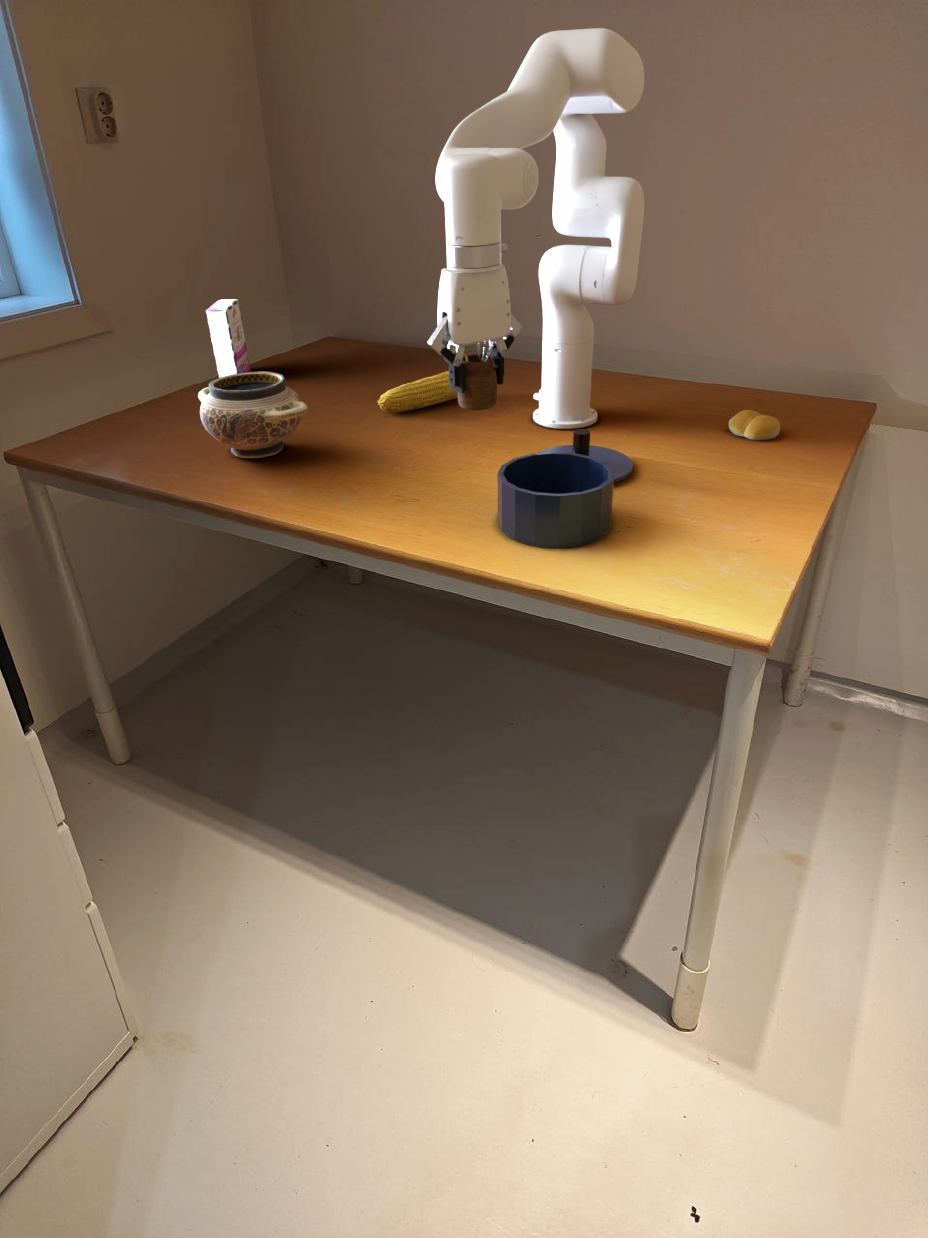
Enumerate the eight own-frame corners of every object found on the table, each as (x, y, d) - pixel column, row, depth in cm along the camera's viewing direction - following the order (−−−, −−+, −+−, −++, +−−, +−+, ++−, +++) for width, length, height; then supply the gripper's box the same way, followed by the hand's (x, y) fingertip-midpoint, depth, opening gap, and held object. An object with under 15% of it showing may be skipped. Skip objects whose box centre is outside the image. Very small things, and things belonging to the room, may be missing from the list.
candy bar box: (230, 370, 202) (218, 299, 194) (251, 369, 202) (239, 298, 194) (218, 383, 193) (204, 309, 184) (239, 383, 193) (227, 308, 184)
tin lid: (508, 465, 146) (508, 427, 142) (587, 444, 153) (589, 408, 150) (571, 498, 133) (573, 458, 129) (654, 473, 141) (658, 435, 137)
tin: (477, 517, 128) (476, 467, 124) (563, 491, 135) (565, 444, 131) (542, 559, 116) (544, 505, 112) (633, 528, 123) (638, 477, 119)
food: (456, 393, 182) (455, 365, 179) (472, 399, 178) (471, 370, 175) (373, 413, 171) (371, 384, 168) (389, 420, 167) (386, 391, 164)
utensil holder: (505, 403, 127) (504, 321, 120) (477, 414, 123) (475, 330, 116) (476, 396, 130) (474, 315, 124) (448, 406, 126) (444, 324, 120)
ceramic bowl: (332, 466, 155) (337, 383, 149) (255, 473, 141) (259, 381, 136) (245, 441, 168) (248, 364, 163) (167, 445, 154) (168, 360, 149)
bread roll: (763, 444, 151) (767, 423, 149) (721, 432, 157) (724, 411, 154) (788, 433, 155) (792, 412, 153) (746, 422, 161) (749, 401, 159)
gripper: (510, 245, 122) (510, 370, 131) (405, 260, 114) (414, 391, 124) (541, 252, 116) (539, 381, 126) (433, 268, 109) (440, 404, 119)
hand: (477, 385), depth 125 cm, fingers closed on utensil holder, 5 cm apart
